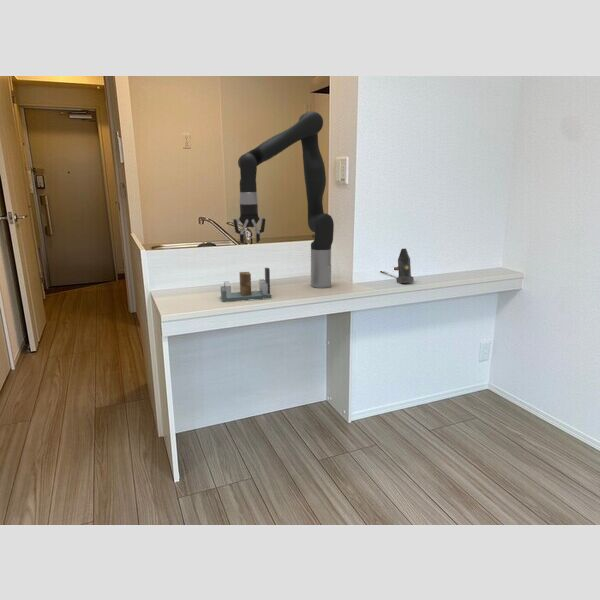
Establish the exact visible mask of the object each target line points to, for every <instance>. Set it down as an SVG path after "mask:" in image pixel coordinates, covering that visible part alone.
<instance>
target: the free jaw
mask: <svg viewBox="0 0 600 600" xmlns="http://www.w3.org/2000/svg"><path fill="white" fill-rule="evenodd" d="M270 273H271V271H270V267H264V278H261V279H260V278H259V279H258V280H259V281H258V282H259V283H258V284H259V287H258V289H259V291H260V292H261V293H262V294H263V295H268V293H270V294H271V276H270V275H271V274H270Z"/></svg>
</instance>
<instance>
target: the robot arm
mask: <svg viewBox="0 0 600 600" xmlns="http://www.w3.org/2000/svg"><path fill="white" fill-rule="evenodd" d="M323 126H324V119H323V116H322V115H321V114H320V113H318V112H317V111H313V110H312V111H308V112H305V113H303V114H301V116H300V117H299V119H298V121H297V122H296V123H294V124H293V125H292V126H290V127H289V128H287V129H284V130H283V131H281V132H279V133H278V134H275V135H273V136H272V137H270V138H268V139H267V140H265V141H263V142H262V143H260V144H259V145H258V146H256V147H255V148H253V149H251V150H249V151H247V152H245V153H244V154H242V155H240V156H239V158H238V161H237V165H238V168H239V170H240V175H239V176H240V178H239V200H238V201H239V218H233V219H232V222H233V227H234V231H235V233H236V234H238V235H239V242H241V243H242V244H245V242H244V241H245V239H244V237H245V235H244V233H245V230H246V228H253V229H254V230H255V242H256V243H257V244H258V243H259V242H260V241H261V234H262V233H264V232H265V229H266V218H264V217H260V216H259V208H258V207H259V205H258V192H257V190H258V189H257V173H258V171H257V170H258V169H257V168H258V166H259V165H261V164H262V163H264V162H267V161H270V160H271V159H273V158H274V157H275V156H277V155H278V154H280V153H282V152H283V151H284V150H286V149H288V148H289V147H291V146H292V145H294V144H296V143H297V142H299V141H300V142H301V147H302V149H301V150H302V162H303V175H304V182H305V191H306V200H307V201H306V202H307V226H308V228H309V230H310V231H311V232H313V233H314V239H313V241H311V243H310V286H311V287H313V288H316V289H317V288H319V289H320V288H321V289H322V288H323V289H325V288H331V287H332V244H333V242H334V233H335V231H334V230H335V229H334V226H335V224H334V219H333V217H332V216H331V214H328V213H325V211H324V205H323V199H324V194H325V193H324V192H325V189H326V184H327V176H326V167H325V162H324V159H323V156H322V153H321V151H320V146H319V137H318V135H319V132H320V131H321V130H322V129H323ZM258 222H260V228H259V227H258V225H257V224H258ZM239 223H241V228H240V230H239V227H238V226H239V225H238V224H239Z"/></svg>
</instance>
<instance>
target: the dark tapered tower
mask: <svg viewBox="0 0 600 600" xmlns="http://www.w3.org/2000/svg"><path fill="white" fill-rule="evenodd" d="M393 267H394V270H395V271H398V276H397V277H396V278H395V279H396V283H397V284H399V283H400V284H403V283H405V284H406V283H413V282H414V276H412V269H411V257H410V256H409V252H408V250H407V248H401V250H400V253H399V256H398V258H397V266H393ZM395 271H394V272H395Z"/></svg>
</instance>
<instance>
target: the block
mask: <svg viewBox="0 0 600 600" xmlns="http://www.w3.org/2000/svg"><path fill="white" fill-rule="evenodd" d="M238 274H239V290H240V291H239V292H240V293H241V295H242V296H248V295H251V291H252V274H251V272H250V271H240V272H239V273H238Z"/></svg>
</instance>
